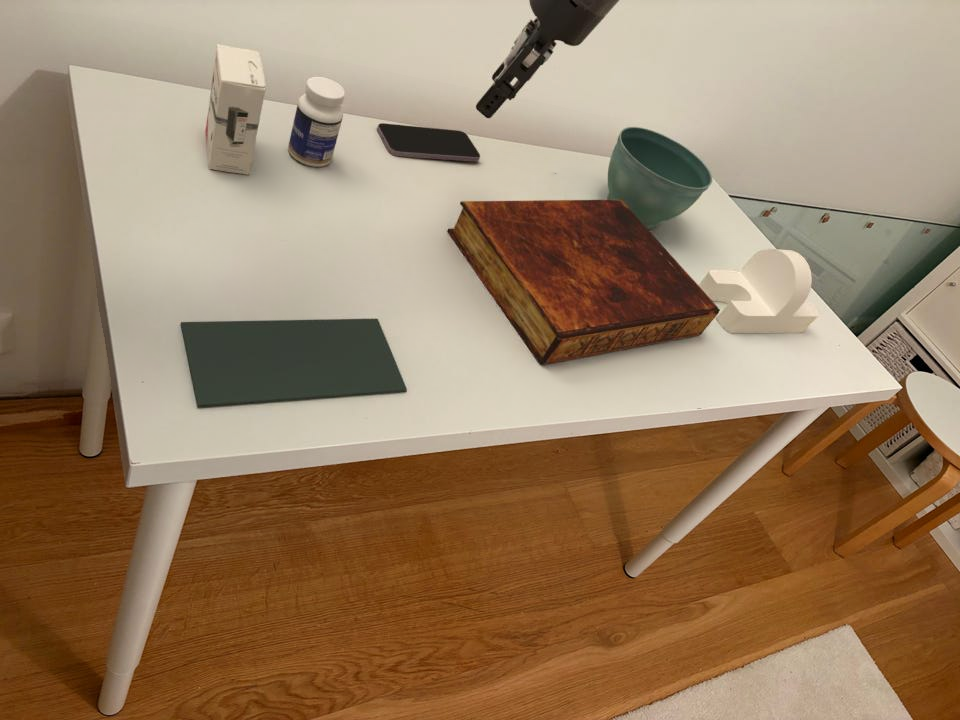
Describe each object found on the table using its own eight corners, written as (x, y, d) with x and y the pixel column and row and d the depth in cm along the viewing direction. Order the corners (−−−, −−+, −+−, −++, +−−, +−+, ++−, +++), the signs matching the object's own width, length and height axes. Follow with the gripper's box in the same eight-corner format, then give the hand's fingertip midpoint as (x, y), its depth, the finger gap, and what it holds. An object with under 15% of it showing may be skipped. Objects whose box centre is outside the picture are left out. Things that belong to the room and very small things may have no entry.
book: (541, 366, 84) (560, 337, 80) (447, 231, 95) (460, 200, 92) (700, 336, 101) (721, 311, 98) (604, 224, 112) (620, 198, 109)
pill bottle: (283, 139, 95) (299, 70, 89) (326, 145, 98) (343, 78, 92) (291, 165, 92) (308, 95, 85) (335, 171, 95) (354, 103, 88)
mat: (197, 408, 63) (197, 405, 62) (180, 324, 68) (180, 321, 68) (406, 392, 73) (407, 389, 73) (376, 320, 79) (377, 318, 78)
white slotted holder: (692, 287, 110) (735, 231, 103) (770, 289, 119) (815, 239, 112) (727, 333, 104) (774, 278, 97) (806, 332, 113) (854, 282, 106)
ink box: (203, 129, 90) (215, 39, 83) (244, 136, 92) (259, 49, 85) (207, 170, 85) (220, 78, 77) (250, 176, 87) (267, 88, 80)
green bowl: (568, 184, 117) (600, 126, 110) (630, 179, 127) (663, 125, 120) (632, 249, 110) (671, 191, 103) (692, 238, 121) (730, 185, 114)
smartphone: (375, 122, 106) (464, 130, 114) (374, 128, 107) (462, 136, 114) (391, 151, 102) (482, 158, 110) (389, 158, 103) (480, 164, 110)
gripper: (566, -57, 80) (479, 54, 90) (545, -19, 70) (450, 101, 80) (614, -9, 82) (524, 94, 92) (601, 35, 72) (501, 145, 82)
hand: (490, 97), depth 86 cm, fingers open, 8 cm apart
